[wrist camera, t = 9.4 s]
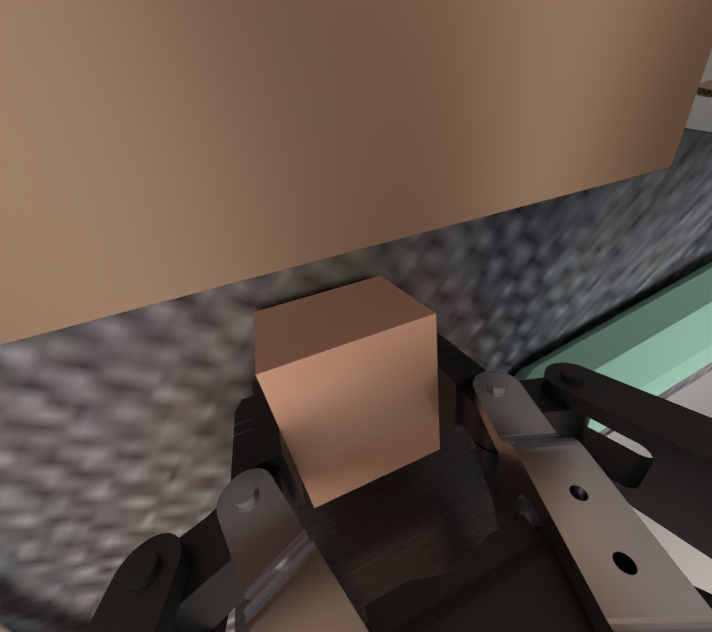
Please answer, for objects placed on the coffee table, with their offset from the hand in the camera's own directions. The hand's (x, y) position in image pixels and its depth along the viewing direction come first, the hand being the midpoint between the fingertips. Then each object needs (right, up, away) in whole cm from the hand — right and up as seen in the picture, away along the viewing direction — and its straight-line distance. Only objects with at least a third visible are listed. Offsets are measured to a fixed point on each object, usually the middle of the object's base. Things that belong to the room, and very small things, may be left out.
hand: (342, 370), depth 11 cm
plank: (-2, +13, -9) cm, 16 cm away
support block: (0, 0, +1) cm, 1 cm away
